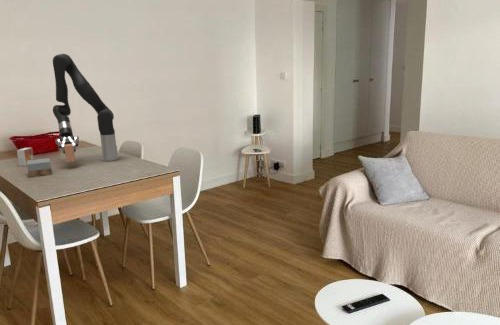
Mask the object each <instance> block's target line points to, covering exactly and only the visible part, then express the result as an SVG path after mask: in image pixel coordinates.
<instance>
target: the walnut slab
mask: <svg viewBox="0 0 500 325" xmlns="http://www.w3.org/2000/svg"><path fill="white" fill-rule="evenodd" d="M27 173H28V178H33V177H35V178H36V177H42V176H50V175H52V174H53V171H52V168H51V169H43V170H35V171H28V170H27Z"/></svg>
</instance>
